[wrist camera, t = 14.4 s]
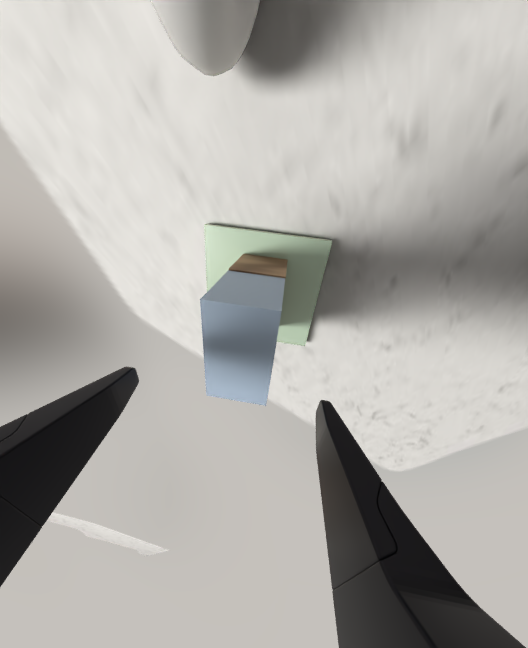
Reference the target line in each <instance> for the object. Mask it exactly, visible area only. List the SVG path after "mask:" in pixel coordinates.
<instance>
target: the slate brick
mask: <svg viewBox="0 0 528 648" xmlns="http://www.w3.org/2000/svg"><path fill="white" fill-rule="evenodd" d="M284 285H285V278H280V277H272V276H265V275H258V274H251V273H243V272H236V271H229V270H228V271H227V272H226V273H225V274H224V275H223V276H222V277H221V278H220V279H219V280H218V281H217V282H216V283H215V284H214V286H213V287H212V288H211V289H210V290H209V291H208V292H207V293H206V294H205V295H204V296H203V297H202V298H201V299H200V304H201V319H202V334H203V349H204V364H205V379H206V394H207V396H213V397H219V398H225V399H231V400H236V401H242V402H248V403H253V404H259V405H265V406H266V402H267V397H268V391H269V385H270V379H271V372H272V366H273V360H274V354H275V348H276V342H277V336H278V330H279V324H280V318H281V312H282V303H283V294H284Z"/></svg>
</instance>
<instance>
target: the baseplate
mask: <svg viewBox="0 0 528 648" xmlns="http://www.w3.org/2000/svg"><path fill="white" fill-rule="evenodd" d="M204 234H205V257H206V281H207V292H208V291H209V290H210V289H211V288H212V287H213V286H214V284H215V283H216V282H217V281H218V280H219V279H220V278H221V277H222V276H223V275H224V274H225V273H226V272H227V271H228V270H229V268H230V267H231V266H232V265H233V264H234V263H235V262H236V261H237V260H238V259H239V258H240V257H241V256H242V255H243V254H251V255H258V256H266V257H273V258H280V259H288V261H287V271H286V279H285V285H284V294H283V303H282V312H281V318H280V324H279V330H278V336H277V342H282V343H288V344H294V345H301V346H305V344H306V340H307V337H308V333H309V329H310V325H311V321H312V317H313V314H314V310H315V306H316V302H317V298H318V295H319V291H320V287H321V283H322V279H323V275H324V272H325V268H326V264H327V260H328V256H329V252H330V249H331V245H332V241H331V240H327V239H320V238H312V237H304V236H297V235H289V234H282V233H274V232H266V231H259V230H251V229H243V228H236V227H228V226H221V225H213V224H205V225H204Z"/></svg>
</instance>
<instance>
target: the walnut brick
mask: <svg viewBox="0 0 528 648" xmlns="http://www.w3.org/2000/svg"><path fill="white" fill-rule="evenodd" d="M287 261H288V259H280V258H273V257H266V256H258V255H251V254H243V255H242V256H241V257H240V258H239V259H238V260H237V261H236V262H235V263H234V264H233V265H232V266H231V267H230V268H229V271H236V272H243V273H251V274H258V275H265V276H272V277H280V278H285V279H286V271H287Z"/></svg>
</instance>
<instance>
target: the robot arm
mask: <svg viewBox="0 0 528 648" xmlns="http://www.w3.org/2000/svg"><path fill="white" fill-rule="evenodd" d="M138 382H139V379H138V375H137V372H136V369H135V368H133V367H124V368H122V369H119V370H118V371H115V372H113V373H111V374H109V375H107V376H105V377H103V378H101V379H99V380H97V381H95V382H93V383H90V384H88V385H86V386H84V387H82V388H80V389H78V390H76V391H74V392H72V393H70V394H68V395H66V396H64V397H62V398H59V399H57V400H55V401H53V402H51V403H49V404H47V405H45V406H43V407H41V408H39V409H37V410H35V411H33V412H30V413H29V414H28V415H24V416H22V417H20V418H18V419H16V420H14V421H12V422H10V423H8V424H5V425H3V426H1V427H0V587H1V585H2V584H3V582H4V581H5V580H6V578H7V576H8V575H9V574H10V572H11V571H12V570H13V568H14V567H15V565H16V564H17V562H18V561H19V560H20V558H21V557H22V555H23V554H24V552H25V551H26V549H27V548H28V547H29V545H30V543H31V542H32V541H33V540H34V538H35V537H36V535H37V534H38V532H39V531H40V529H41V528H42V526H43V525H44V523H45V522H46V521H47V519H48V518H49V516H50V515H51V513H52V512H53V510H54V509H55V508H56V506H57V505H58V503H59V502H60V501H61V499H62V498H63V496H64V495H65V493H66V492H67V490H68V489H69V488H70V486H71V485H72V483H73V482H74V481H75V479H76V478H77V476H78V475H79V473H80V472H81V471H82V469H83V468H84V466H85V465H86V463H87V462H88V460H89V459H90V458H91V456H92V455H93V453H94V452H95V450H96V449H97V448H98V446H99V445H100V443H101V442H102V440H103V439H104V438H105V436H106V435H107V433H108V432H109V430H110V429H111V427H112V426H113V425H114V423H115V422H116V420H117V419H118V418H119V416H120V414H121V413H122V411H123V410H124V408H125V406H126V404H127V403H128V401H129V399H130V397H131V395H132V394H133V392H134V390H135V389H136V387H137V385H138ZM316 453H317V462H318V471H319V480H320V488H321V496H322V505H323V513H324V522H325V530H326V539H327V548H328V557H329V565H330V574H331V582H332V589H333V600H334V608H335V617H336V626H337V635H338V643H339V648H526V647H525V646H523V645H522V644H521V643H520V642H519V641H518V640H516V639H515V638H514V637H513V636H512V635H510V633H508V632H507V631H506V630H505V629H504V628H503V627H502V626H501V625H499V624H498V623H497V622H496V621H495V620H494V619H493V618H491V617H490V616H489V615H488V614H487V613H486V612H485V611H483V610H482V609H481V608H480V607H479V606H478V605H477V604H476V603H475V602H474V601H473V600H472V599H471V598H470V597H469V595H468V594H466V592H465V591H464V590H463V589H462V588H461V586H460V585H459V584H458V583H457V582H456V580H455V579H454V578H453V577H452V576H451V574H450V573H449V572H448V570H447V569H446V568H445V566H444V565H443V564H442V562H441V561H440V560H439V558H438V557H437V556H436V554H435V553H434V552H433V551H432V549H431V548H430V547H429V545H428V544H427V543H426V542H425V540H424V539H423V537H422V536H421V535H420V534H419V532H418V531H417V530H416V528H415V527H414V526H413V524H412V523H411V522H410V520H409V519H408V517H407V516H406V515H405V513H404V512H403V511H402V509H401V508H400V506H399V505H398V503H397V502H396V500H395V499H394V498H393V496H392V495H391V493H390V492H389V490H388V489H387V487H386V486H385V484H384V483H383V482H381V478H380V477H379V475H378V474H377V472H376V471H375V469H374V468H373V466H372V465H371V463H370V462H369V460H368V458H367V457H366V455H365V454H364V452H363V451H362V449H361V448H360V446H359V445H358V443H357V442H356V440H355V439H354V437H353V436H352V434H351V433H350V431H349V430H348V428H347V427H346V425H345V424H344V422H343V421H342V419H341V418H340V416H339V415H338V413H337V411H336V410H335V408H334V407H333V405H332V404H331V403H330V402H329V401H325V400H321V401H320V403H319V405H318V408H317V411H316Z"/></svg>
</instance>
